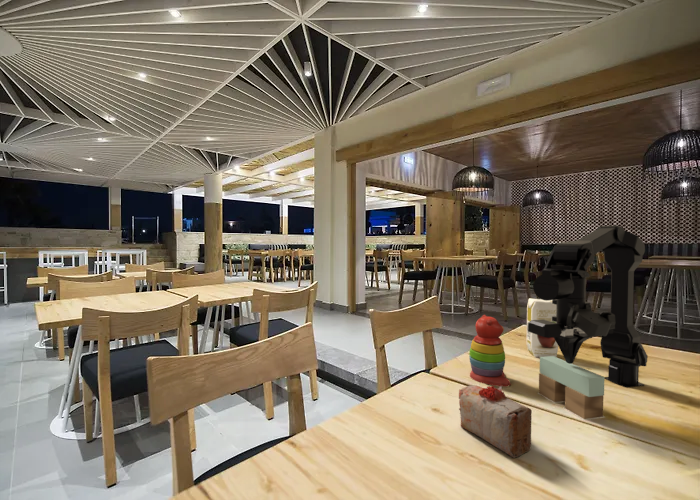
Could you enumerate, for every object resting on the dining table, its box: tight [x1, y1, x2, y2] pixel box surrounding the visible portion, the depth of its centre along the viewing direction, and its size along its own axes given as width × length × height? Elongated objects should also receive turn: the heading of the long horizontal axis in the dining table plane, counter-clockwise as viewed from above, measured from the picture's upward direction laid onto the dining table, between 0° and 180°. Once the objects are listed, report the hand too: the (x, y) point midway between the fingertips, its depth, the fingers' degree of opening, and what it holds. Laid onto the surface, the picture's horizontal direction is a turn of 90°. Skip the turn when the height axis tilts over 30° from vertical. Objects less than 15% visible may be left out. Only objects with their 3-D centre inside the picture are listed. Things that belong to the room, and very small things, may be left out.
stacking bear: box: [469, 314, 511, 388], centre depth 96 cm, size 11×10×18 cm
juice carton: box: [526, 297, 559, 358], centre depth 118 cm, size 8×9×19 cm
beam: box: [539, 356, 606, 397], centre depth 81 cm, size 14×4×4 cm, turn 12°
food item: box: [458, 384, 532, 459], centre depth 68 cm, size 14×8×10 cm, turn 30°
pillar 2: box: [564, 386, 605, 420], centre depth 77 cm, size 5×5×5 cm
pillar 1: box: [538, 372, 566, 403], centre depth 85 cm, size 5×5×5 cm
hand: (569, 363), depth 81 cm, fingers closed
